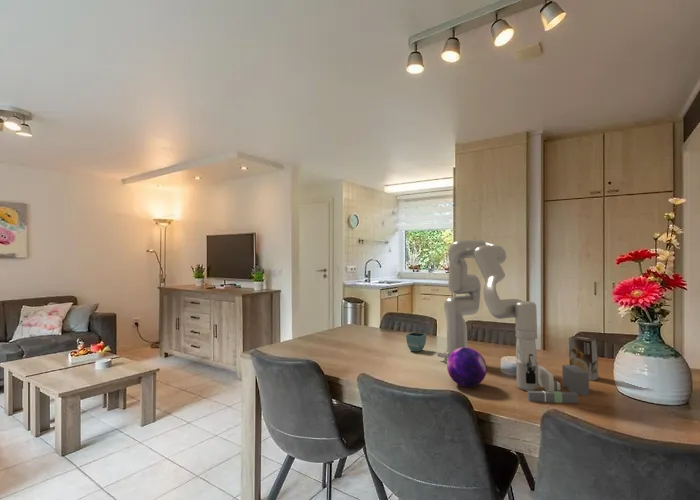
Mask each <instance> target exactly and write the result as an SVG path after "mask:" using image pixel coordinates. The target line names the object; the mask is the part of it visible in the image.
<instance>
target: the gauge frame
mask: <svg viewBox="0 0 700 500" xmlns="http://www.w3.org/2000/svg"><path fill="white" fill-rule="evenodd" d="M561 368H562V371H561V372H562V373H561V374H562V386H563V387H564V388H565V389H567V390H568V391H561V390H557V391H546V390H535V391H527V393H526V394H527V400H528V402H537V403H539V402H540V403H541V402H542V403H558V404H559V403H560V404H562V403H563V404H564V403H565V404H579V402H580V401H579V396H590V380H589V373H587V372H586V371H584V370H583V369H581V368H579V367H578V366H576V365H570V364H562V367H561Z"/></svg>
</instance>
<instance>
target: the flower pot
mask: <svg viewBox="0 0 700 500" xmlns="http://www.w3.org/2000/svg"><path fill="white" fill-rule="evenodd" d="M405 337H406V338H405V339H406V344H407V347H408V349H409V351H410V350H412V351H411V352H416V351H420V352H422V351H423V350H424V348H425V345H426V341H427V333H423V332H421V333H420V332H413V331H412V332H409V333H408V334H406V335H405Z"/></svg>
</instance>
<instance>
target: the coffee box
mask: <svg viewBox="0 0 700 500" xmlns="http://www.w3.org/2000/svg"><path fill="white" fill-rule="evenodd" d="M598 356H599V355H598V339H597V338H591V337H583V336H578V335H576V336H575V335H573V336H570V337H569V338H568V358H569V359H568V360H569V365H576V366H578V367H579V368H581V369H583V370H584V371H586V372H587V373H589V381H595V380H597V379H599V357H598Z"/></svg>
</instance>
